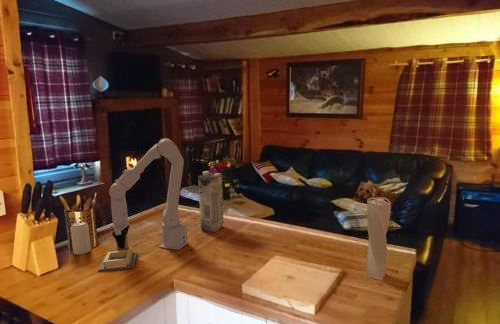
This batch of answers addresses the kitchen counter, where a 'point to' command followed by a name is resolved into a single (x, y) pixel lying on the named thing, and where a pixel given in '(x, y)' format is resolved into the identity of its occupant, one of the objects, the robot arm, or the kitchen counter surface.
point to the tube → (125, 244)
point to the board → (118, 260)
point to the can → (80, 238)
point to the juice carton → (210, 201)
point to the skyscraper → (377, 237)
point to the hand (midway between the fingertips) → (122, 245)
